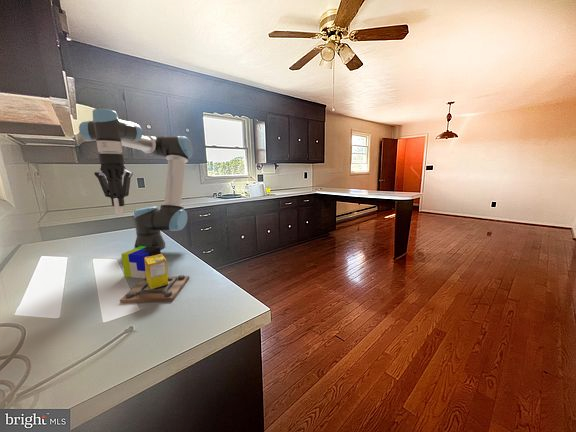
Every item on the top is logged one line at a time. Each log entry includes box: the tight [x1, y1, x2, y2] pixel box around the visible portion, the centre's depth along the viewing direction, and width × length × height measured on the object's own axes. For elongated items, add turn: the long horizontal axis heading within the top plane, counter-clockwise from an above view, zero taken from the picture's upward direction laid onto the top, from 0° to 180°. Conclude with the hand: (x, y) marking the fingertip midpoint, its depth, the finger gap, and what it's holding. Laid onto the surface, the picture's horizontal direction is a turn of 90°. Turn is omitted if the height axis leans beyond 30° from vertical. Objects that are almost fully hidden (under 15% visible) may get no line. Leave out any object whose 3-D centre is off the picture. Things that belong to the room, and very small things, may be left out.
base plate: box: [119, 274, 190, 304], centre depth 88 cm, size 17×17×2 cm
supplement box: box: [144, 253, 169, 290], centre depth 87 cm, size 6×6×11 cm
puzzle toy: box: [121, 246, 162, 279], centre depth 102 cm, size 10×10×10 cm
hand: (119, 214), depth 95 cm, fingers closed
